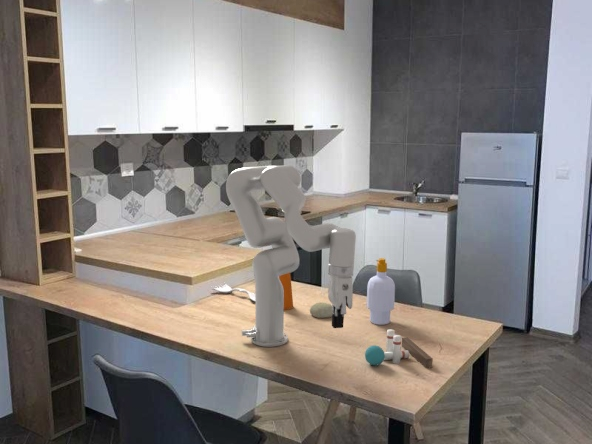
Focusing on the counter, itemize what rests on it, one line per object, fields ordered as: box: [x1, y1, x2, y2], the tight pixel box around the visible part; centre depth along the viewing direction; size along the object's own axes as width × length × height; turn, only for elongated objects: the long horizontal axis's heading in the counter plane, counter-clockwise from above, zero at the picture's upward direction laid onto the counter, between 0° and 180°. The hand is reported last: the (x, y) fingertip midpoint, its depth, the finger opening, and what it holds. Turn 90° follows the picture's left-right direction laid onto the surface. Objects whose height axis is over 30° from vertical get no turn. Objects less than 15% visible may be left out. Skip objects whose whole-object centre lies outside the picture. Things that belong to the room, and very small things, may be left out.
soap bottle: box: [366, 258, 396, 326], centre depth 219 cm, size 10×10×24 cm
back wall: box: [401, 337, 434, 369], centre depth 190 cm, size 2×18×3 cm, turn 14°
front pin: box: [383, 349, 410, 361], centre depth 188 cm, size 2×2×8 cm
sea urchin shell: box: [309, 302, 333, 319], centre depth 228 cm, size 9×8×8 cm
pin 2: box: [391, 334, 402, 365], centre depth 185 cm, size 2×2×8 cm
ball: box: [364, 344, 385, 366], centre depth 183 cm, size 6×6×6 cm
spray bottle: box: [279, 273, 294, 311], centre depth 233 cm, size 7×11×26 cm, turn 159°
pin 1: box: [385, 329, 396, 352], centre depth 189 cm, size 2×2×8 cm
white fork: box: [212, 283, 256, 303], centre depth 250 cm, size 9×32×4 cm, turn 54°
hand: (337, 326), depth 182 cm, fingers closed
